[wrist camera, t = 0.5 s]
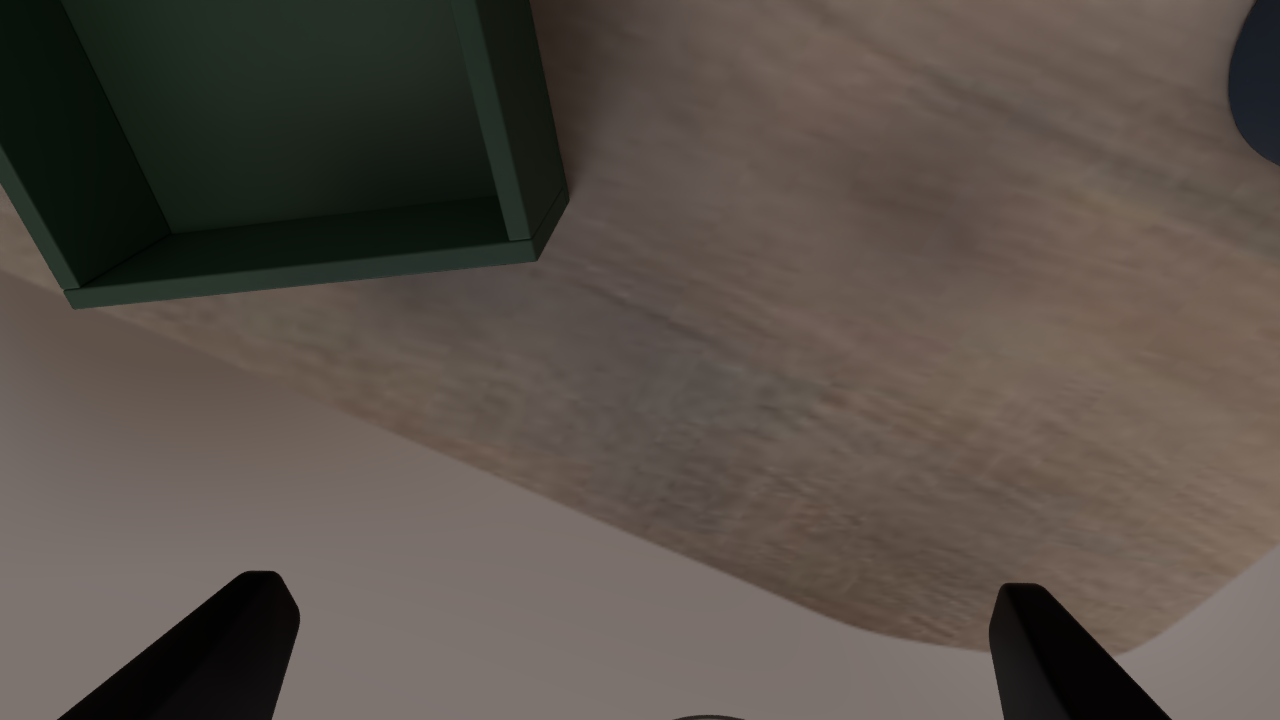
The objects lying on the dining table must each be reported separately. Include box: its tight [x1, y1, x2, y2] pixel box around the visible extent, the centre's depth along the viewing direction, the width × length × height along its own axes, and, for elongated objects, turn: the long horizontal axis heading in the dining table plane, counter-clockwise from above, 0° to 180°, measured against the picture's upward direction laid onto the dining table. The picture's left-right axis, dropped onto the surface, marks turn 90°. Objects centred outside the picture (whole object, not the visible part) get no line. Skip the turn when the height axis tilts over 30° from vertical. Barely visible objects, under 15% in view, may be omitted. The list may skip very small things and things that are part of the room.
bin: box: [0, 0, 570, 309], centre depth 19 cm, size 13×13×4 cm
